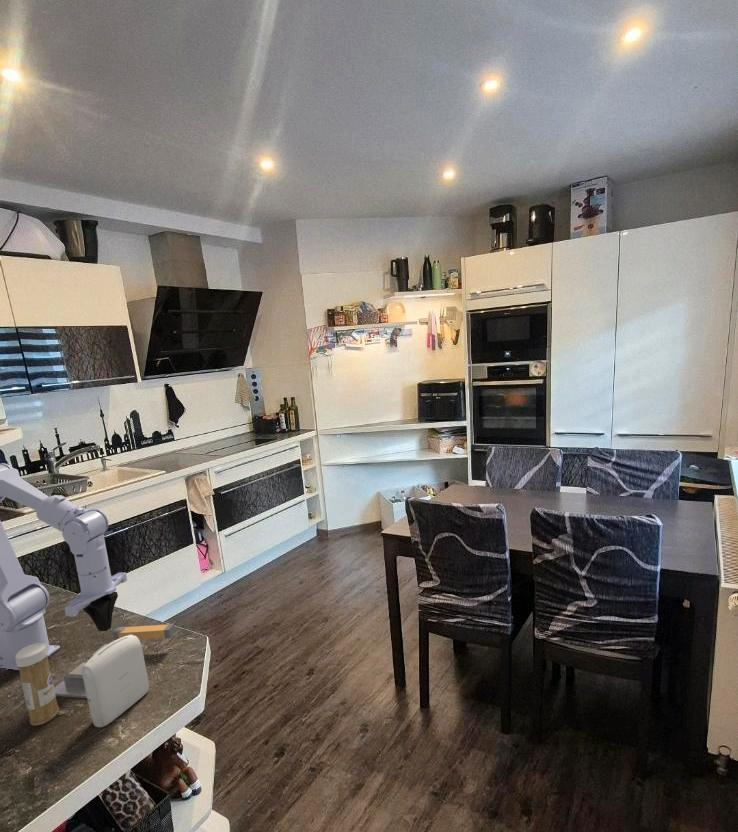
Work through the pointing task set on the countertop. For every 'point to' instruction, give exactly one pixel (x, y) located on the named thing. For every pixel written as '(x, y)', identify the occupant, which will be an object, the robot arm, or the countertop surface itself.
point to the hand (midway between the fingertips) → (104, 629)
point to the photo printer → (115, 679)
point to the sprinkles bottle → (37, 683)
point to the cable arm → (146, 631)
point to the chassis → (75, 681)
